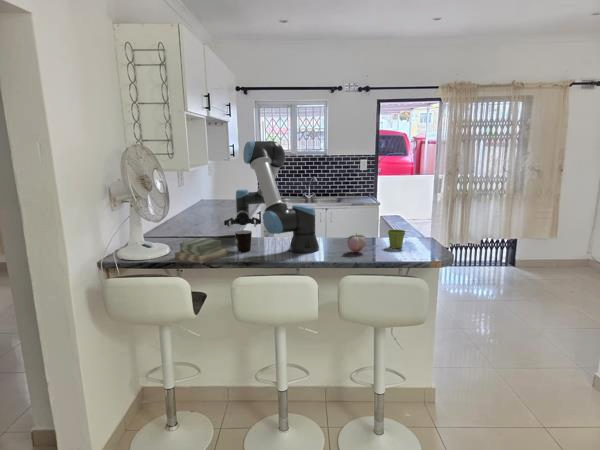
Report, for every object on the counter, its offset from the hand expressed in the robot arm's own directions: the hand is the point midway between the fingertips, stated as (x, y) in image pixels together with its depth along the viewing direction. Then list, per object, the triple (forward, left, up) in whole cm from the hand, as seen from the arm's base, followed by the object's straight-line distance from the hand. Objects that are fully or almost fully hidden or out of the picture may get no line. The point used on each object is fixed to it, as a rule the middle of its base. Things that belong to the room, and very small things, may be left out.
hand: (242, 225), depth 211 cm
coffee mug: (-7, +8, -12) cm, 16 cm away
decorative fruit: (-59, -17, -12) cm, 63 cm away
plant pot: (-73, -37, -12) cm, 83 cm away
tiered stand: (+5, +26, -12) cm, 29 cm away
